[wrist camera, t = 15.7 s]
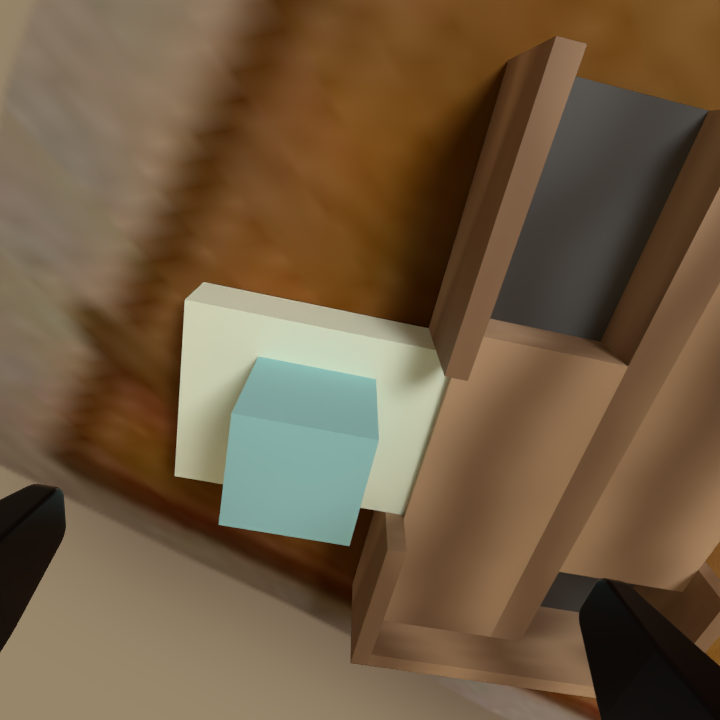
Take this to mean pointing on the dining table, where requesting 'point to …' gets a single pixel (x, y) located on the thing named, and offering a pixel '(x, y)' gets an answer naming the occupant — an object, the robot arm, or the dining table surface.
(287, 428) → the block
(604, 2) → the dining table surface
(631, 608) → the robot arm
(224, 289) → the board
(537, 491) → the box
